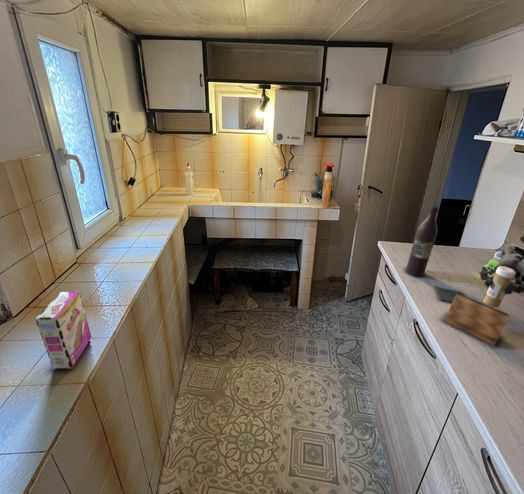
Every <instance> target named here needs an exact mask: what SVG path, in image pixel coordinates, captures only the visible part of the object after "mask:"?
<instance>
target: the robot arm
mask: <svg viewBox="0 0 524 494" xmlns="http://www.w3.org/2000/svg"><path fill="white" fill-rule="evenodd" d="M519 241H520V242H521V243H523V244H524V231H522V233H521V234H520V235H519ZM499 266H504V267H508V268H511V269H513V270H514V271H515V272H516V274H515V276H514V278H513V279H512V280H511V282H510V284H509V286H508V288H507V290H506V292H505V295H507V296H508V295H512V294H513V292H515V293H517V294H523V293H524V281H523V280H522V277H523V276H524V248H523V247H521V246H519V245H517V244H508V245H505V247H503V249H502V250H501V252H500V261H499V262H497V264H496V266H495V267H494V268H492V269H488V268H487V267H486V266H481V269H480V271H479V275H480V279H481V280H482V281H485V282H484V286H485V287H486V288H488V289H489V287H490V285H491V282H492V280H493V278H494V276H495V274H496V270H497V268H498V267H499Z"/></svg>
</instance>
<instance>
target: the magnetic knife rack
mask: <svg viewBox="0 0 524 494" xmlns="http://www.w3.org/2000/svg"><path fill="white" fill-rule="evenodd" d="M461 294H462V293H461ZM461 294H459V295H456V296H455V297H454V299H453V302H452V303H451V304H450V306H449V309H448V312H447V315H446V316H445V317H444V319H443V322H444V323H446V324H448V325H450V326H453V327H455V328H457V329H459V330H461V331H463V332H465V333H467V334H469V335H471V336H474V337H475V338H477V339H479V340H482V341H483V342H486V343H487V344H490V345H492V346H496V344H497V342H498V341H499V338H500V336H501V334H502V332H503V331H504V329H505V326H506V324H507V323H508V321H509V319H510V316H509V314H508V313H506V312H503V311H501V310H499V309H497V308H495V307H491V306H489V305H487V304H485V303H482V302H479V301H478V300H475V299H473V298H470V297H468V296H466V295H463V294H462V295H461Z"/></svg>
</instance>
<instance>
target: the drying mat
mask: <svg viewBox="0 0 524 494" xmlns="http://www.w3.org/2000/svg"><path fill="white" fill-rule="evenodd" d="M436 292H437V295H438V296H439V300H440V301H443V302H447V303H451V304H452V302H453V299H454V297H455V296H456V295H459V294H461V295H463V294H462V292H461V291H457V290H451V289H446V288H441V287H436Z"/></svg>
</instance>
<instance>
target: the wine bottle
mask: <svg viewBox="0 0 524 494" xmlns="http://www.w3.org/2000/svg"><path fill="white" fill-rule="evenodd" d="M438 212H439V206H438V205H437V206H435V205H431V206H430V207H429V213H428V216H427V217H426V218H425V219H424V220H423V221H422V222H421V223H420V224H419V226H418V228H417V231H416V234H415V237H414V240H413V244H412V247H411V250H410V254H409V257H408V261H407V263H406V267H405V271H406V273H408V274H409V275H411V276H415V277H423V276H424V274H425V272H426V268H427V266H428V263H429V259H430V257H431V255H432V254H431V253H432V251H433V248H434V245H435V242H436V239H437V235H438V230H439V229H438V223H437V220H436V218H437V214H438Z"/></svg>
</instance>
